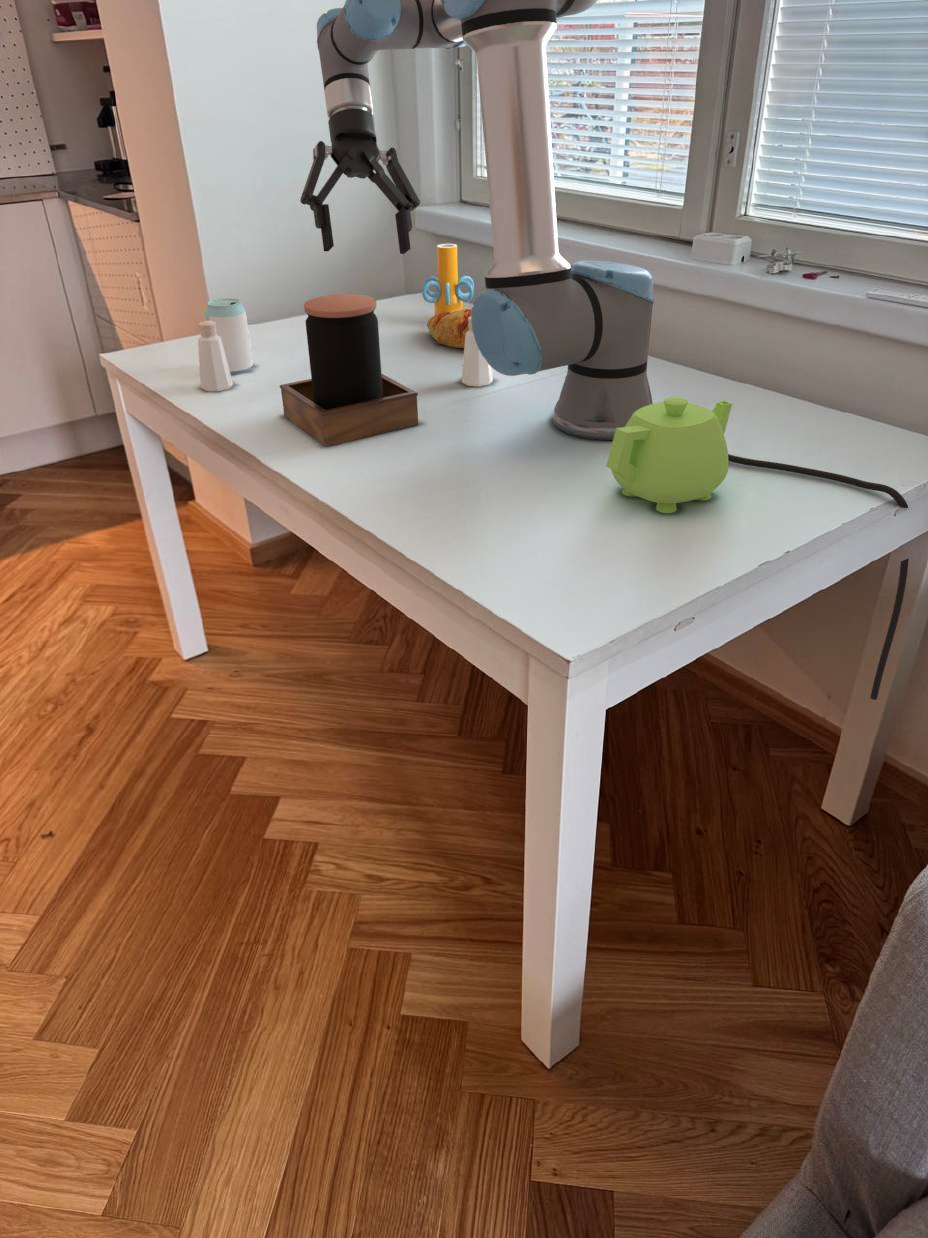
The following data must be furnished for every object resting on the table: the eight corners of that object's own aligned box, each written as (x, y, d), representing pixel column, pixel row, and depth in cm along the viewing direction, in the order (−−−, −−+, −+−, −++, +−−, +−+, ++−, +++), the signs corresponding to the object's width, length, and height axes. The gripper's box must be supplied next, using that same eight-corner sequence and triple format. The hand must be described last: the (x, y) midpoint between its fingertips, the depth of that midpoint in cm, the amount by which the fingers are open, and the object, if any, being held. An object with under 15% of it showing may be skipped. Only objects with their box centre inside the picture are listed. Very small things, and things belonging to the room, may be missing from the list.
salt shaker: (232, 380, 165) (222, 316, 159) (234, 390, 161) (224, 324, 155) (200, 383, 164) (189, 319, 158) (201, 393, 159) (190, 327, 154)
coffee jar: (385, 407, 151) (378, 292, 142) (383, 431, 142) (374, 310, 133) (319, 409, 151) (307, 294, 142) (312, 433, 142) (299, 312, 133)
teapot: (684, 459, 131) (694, 370, 124) (760, 491, 121) (775, 396, 114) (573, 496, 121) (578, 401, 114) (646, 533, 112) (656, 432, 105)
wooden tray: (419, 424, 145) (417, 392, 142) (325, 446, 138) (322, 413, 135) (372, 397, 156) (369, 366, 153) (283, 416, 149) (279, 384, 146)
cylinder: (474, 329, 191) (472, 251, 183) (422, 329, 191) (419, 251, 183) (474, 313, 201) (473, 239, 193) (426, 314, 201) (423, 240, 193)
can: (242, 361, 175) (233, 294, 169) (260, 369, 170) (251, 301, 164) (207, 368, 171) (196, 301, 165) (224, 377, 167) (213, 308, 160)
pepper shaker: (480, 388, 158) (479, 322, 153) (455, 383, 161) (453, 318, 155) (499, 380, 162) (499, 315, 156) (473, 375, 165) (473, 311, 159)
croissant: (419, 351, 190) (402, 319, 184) (452, 319, 192) (436, 286, 186) (488, 372, 175) (471, 338, 170) (523, 338, 178) (508, 303, 172)
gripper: (410, 133, 162) (426, 259, 164) (270, 120, 151) (288, 255, 152) (429, 113, 155) (445, 244, 157) (283, 97, 144) (302, 239, 146)
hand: (367, 250), depth 155 cm, fingers open, 13 cm apart
